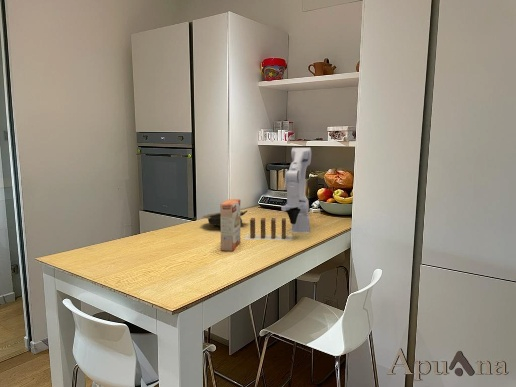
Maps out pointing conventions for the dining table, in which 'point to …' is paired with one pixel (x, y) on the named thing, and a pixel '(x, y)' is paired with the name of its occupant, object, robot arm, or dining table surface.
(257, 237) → the mat
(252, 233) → the brown wooden block
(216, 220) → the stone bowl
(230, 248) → the cracker box
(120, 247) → the dining table surface
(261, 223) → the brown wooden block
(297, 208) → the robot arm
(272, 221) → the brown wooden block
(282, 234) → the tile
